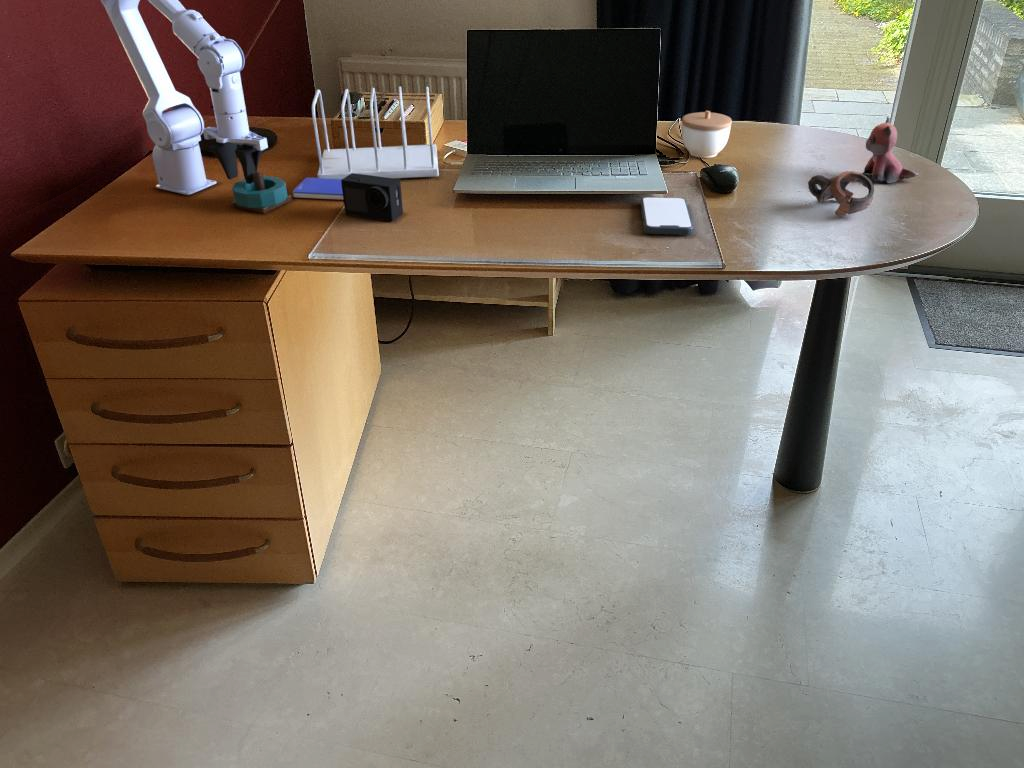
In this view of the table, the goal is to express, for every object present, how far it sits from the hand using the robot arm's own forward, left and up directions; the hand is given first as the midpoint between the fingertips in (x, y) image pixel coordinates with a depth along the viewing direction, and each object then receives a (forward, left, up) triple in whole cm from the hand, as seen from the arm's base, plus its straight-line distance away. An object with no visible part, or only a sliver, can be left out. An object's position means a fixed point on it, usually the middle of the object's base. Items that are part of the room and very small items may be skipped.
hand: (242, 180), depth 169 cm
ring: (+4, 0, -3) cm, 5 cm away
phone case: (+77, +29, -4) cm, 83 cm away
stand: (+4, 0, -4) cm, 6 cm away
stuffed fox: (+110, +70, -4) cm, 131 cm away
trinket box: (+71, +69, -4) cm, 99 cm away
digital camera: (+27, +5, -4) cm, 28 cm away
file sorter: (+12, +28, -4) cm, 31 cm away
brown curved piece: (+104, +49, -4) cm, 115 cm away
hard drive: (+12, +11, -4) cm, 17 cm away
